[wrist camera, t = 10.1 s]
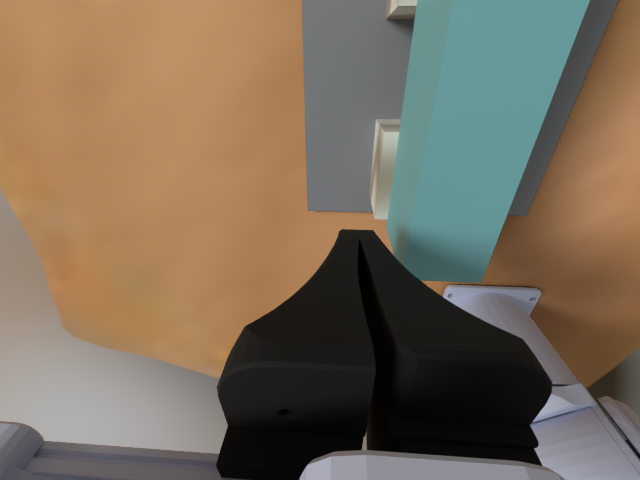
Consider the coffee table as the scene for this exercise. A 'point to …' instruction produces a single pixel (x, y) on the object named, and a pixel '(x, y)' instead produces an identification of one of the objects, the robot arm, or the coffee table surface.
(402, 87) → the grey flat plate
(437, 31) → the teal beam
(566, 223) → the coffee table surface
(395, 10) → the pillar
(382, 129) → the pillar
